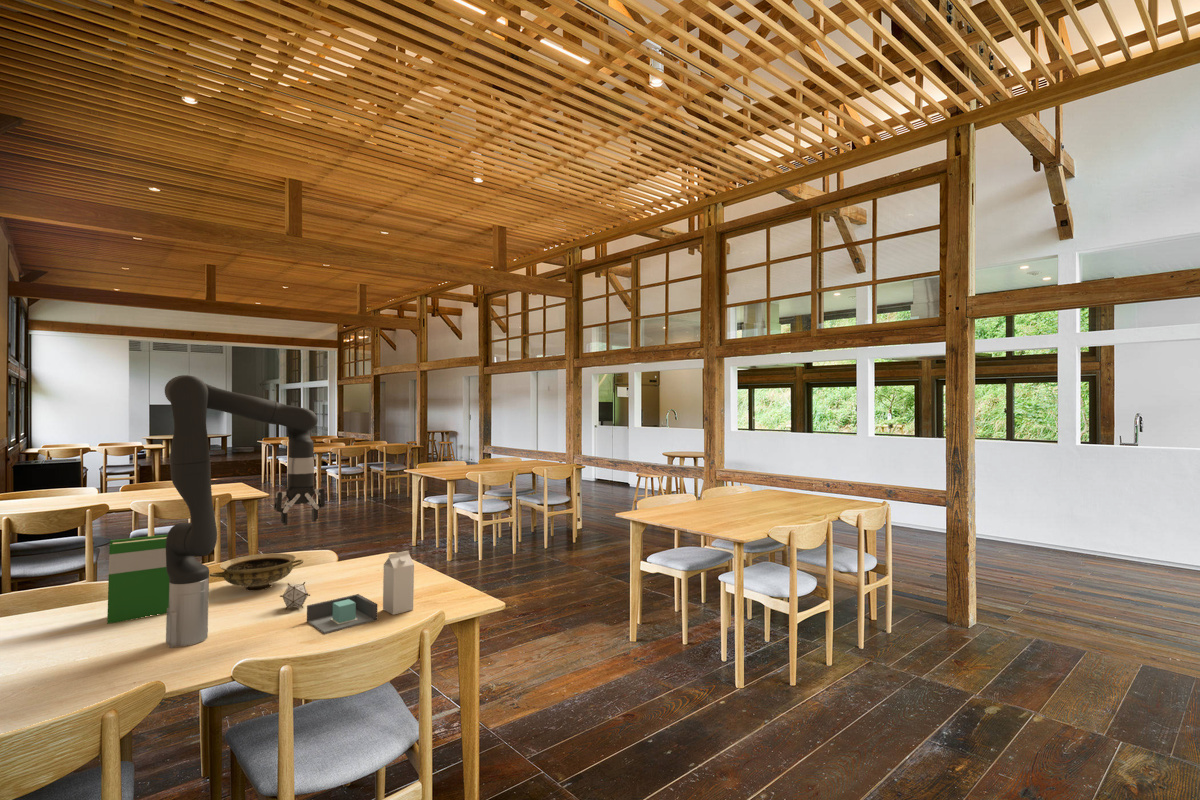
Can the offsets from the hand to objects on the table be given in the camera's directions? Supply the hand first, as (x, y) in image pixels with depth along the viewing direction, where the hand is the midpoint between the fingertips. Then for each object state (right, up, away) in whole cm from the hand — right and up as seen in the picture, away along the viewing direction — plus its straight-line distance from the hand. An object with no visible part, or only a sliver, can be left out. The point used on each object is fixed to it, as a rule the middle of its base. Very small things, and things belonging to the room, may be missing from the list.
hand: (299, 522), depth 181 cm
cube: (+15, -30, -3) cm, 33 cm away
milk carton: (+28, -31, +8) cm, 43 cm away
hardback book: (-51, -30, +2) cm, 59 cm away
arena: (+15, -30, -2) cm, 33 cm away
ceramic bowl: (-31, -31, +30) cm, 53 cm away
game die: (-6, -30, +9) cm, 32 cm away
